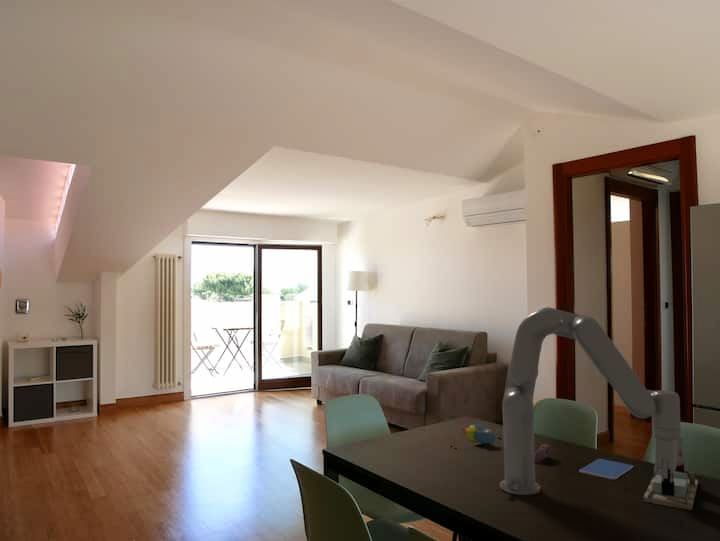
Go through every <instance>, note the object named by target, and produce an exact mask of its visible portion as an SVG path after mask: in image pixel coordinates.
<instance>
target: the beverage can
mask: <svg viewBox="0 0 720 541" xmlns="http://www.w3.org/2000/svg"><path fill="white" fill-rule="evenodd" d="M675 471H676V472H682V473H685V456H684V438H683V436H682V435H681V440H677V467H676V470H675Z"/></svg>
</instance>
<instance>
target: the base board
mask: <svg viewBox="0 0 720 541" xmlns="http://www.w3.org/2000/svg"><path fill="white" fill-rule="evenodd" d="M653 474H654V475H653V477H652V479H651V481H650V482H649V485H648V487H647V489H646V491H645V493H644V495H643V497H642V498H643V500H642V501H643V502H644V501H646V502H645V503H649V502H651V503H650V504H656V505H660V506H661V505H662V506H667V507H670V508H677V509H681V508H682V509H683V510H686V509H687V511H692V510H693V507H694V503H695V502H694V501H695V499H694V498H696V494H697V489H698V485H699V479H697V478H696V473H695V472H693V471H689V472H688V476H689V477H688V490H687V493H686V497H685V498H682V497H676V496H669V495H664V494H659V493H654V492H653V481H654V479H655V477H656V475H657V472H656V471H655V466H654V467H653Z"/></svg>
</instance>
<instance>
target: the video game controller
mask: <svg viewBox="0 0 720 541" xmlns="http://www.w3.org/2000/svg"><path fill="white" fill-rule="evenodd" d="M552 448H553V447H552V445H549V444H547V443H545V444H541V445H540V447H539V448H538V449H537V451H535V452H534V457H535V462H538V461H540V462H542V461H544V460H545V459H547V457H548V455H549V454H550V452H551V450H552Z"/></svg>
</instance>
